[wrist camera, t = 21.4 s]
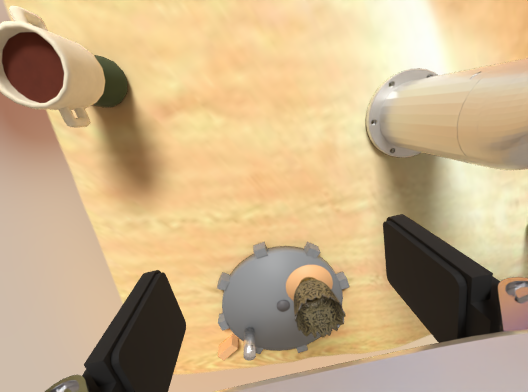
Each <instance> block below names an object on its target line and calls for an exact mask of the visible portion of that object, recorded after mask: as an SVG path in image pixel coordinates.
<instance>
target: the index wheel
mask: <svg viewBox="0 0 528 392" xmlns="http://www.w3.org/2000/svg"><path fill="white" fill-rule="evenodd" d="M253 249H254V254H252V255H251V256H249V257H247V258H246V259H245V260H243V261H242V262H241V263H240V264H239V265H238V266H237V267H236V268H235V269H234V270H233V271H232V273H231V274H230V275H229V274H226V273H223V272H222V274H221V277H220V279H219V281H218V286H217V288H218V289H221V290H224V294H223V303H222V308H223V313H222V314H219V319H218V324H219V326H220V327H221V329H222V331H223V330H225V329H228V328H230V329H231V331H232V332H233V333H234V334H235V335H236V336H237V337H238V338H240V339H241V340H243V341H244V358H245V359H246V360H253V359H254V358H255V357H256V353H258V354H260V353H261V352H262V350H263V349H266V350H289V349H295V348H296V349H297V351H298V353H300V352H303V351H306V350H308V348H307V344H309V343H311V342H313V341H315V340H316V339H318V338H319V337H321V336H320V335H319V334H317V337H316V338H314V337H313V336H312V334H310V335H309V336H307V337H306V336H305V335H304V334H303V333H302V332H301V330H300V331H299V330H298V328H297V323H296V321H295V314H294V294H295V291H296V289H297V287H298V286H299V283H300V281H301V280H302V279H303V278H305V277H313V278H315V279H317V280H320V281H322V282H324V283H325V284H326V285H328V286H329V288H330V289H331V290H332V291H333V293H334V294H335V296H336V297H337V299H338V300H339V302H340V303H341V305H342V299H343V296H342V289H345V288H348V287H349V284H348V281H347V278H346V276H345V275H344V273H343V272H340V273H338V274H335V273H334V271H333V269H332V268H331V266H330V265H329V264H328V263H327V262H326V261H325V260H324V259H323V258H322V257H320V256H319V254H320V250H319V248H318V246H316V245H314V244H311V243H309V242H307V244H306V246H305V247H304V249H303V248H298V247H291V246H280V247H273V248H268V249H267V248H266V245H265V243H264V242H262V243H260V244H257V245H254V246H253ZM339 326H340V325H337V327H338V328H339ZM317 333H318V332H317Z"/></svg>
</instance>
